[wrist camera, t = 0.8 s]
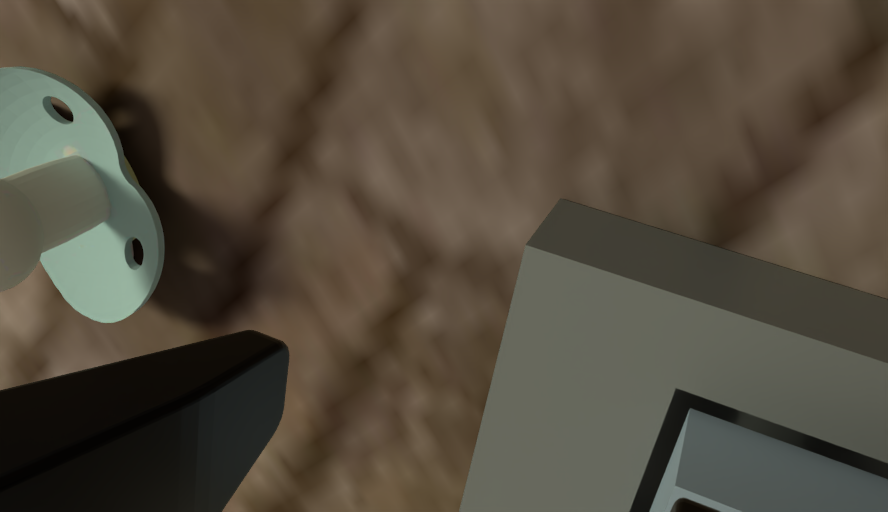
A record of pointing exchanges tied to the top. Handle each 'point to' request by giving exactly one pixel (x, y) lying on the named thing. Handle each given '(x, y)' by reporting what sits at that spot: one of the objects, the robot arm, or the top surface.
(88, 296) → the pacifier
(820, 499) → the slate key
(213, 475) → the robot arm
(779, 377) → the keypad
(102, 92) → the top surface
